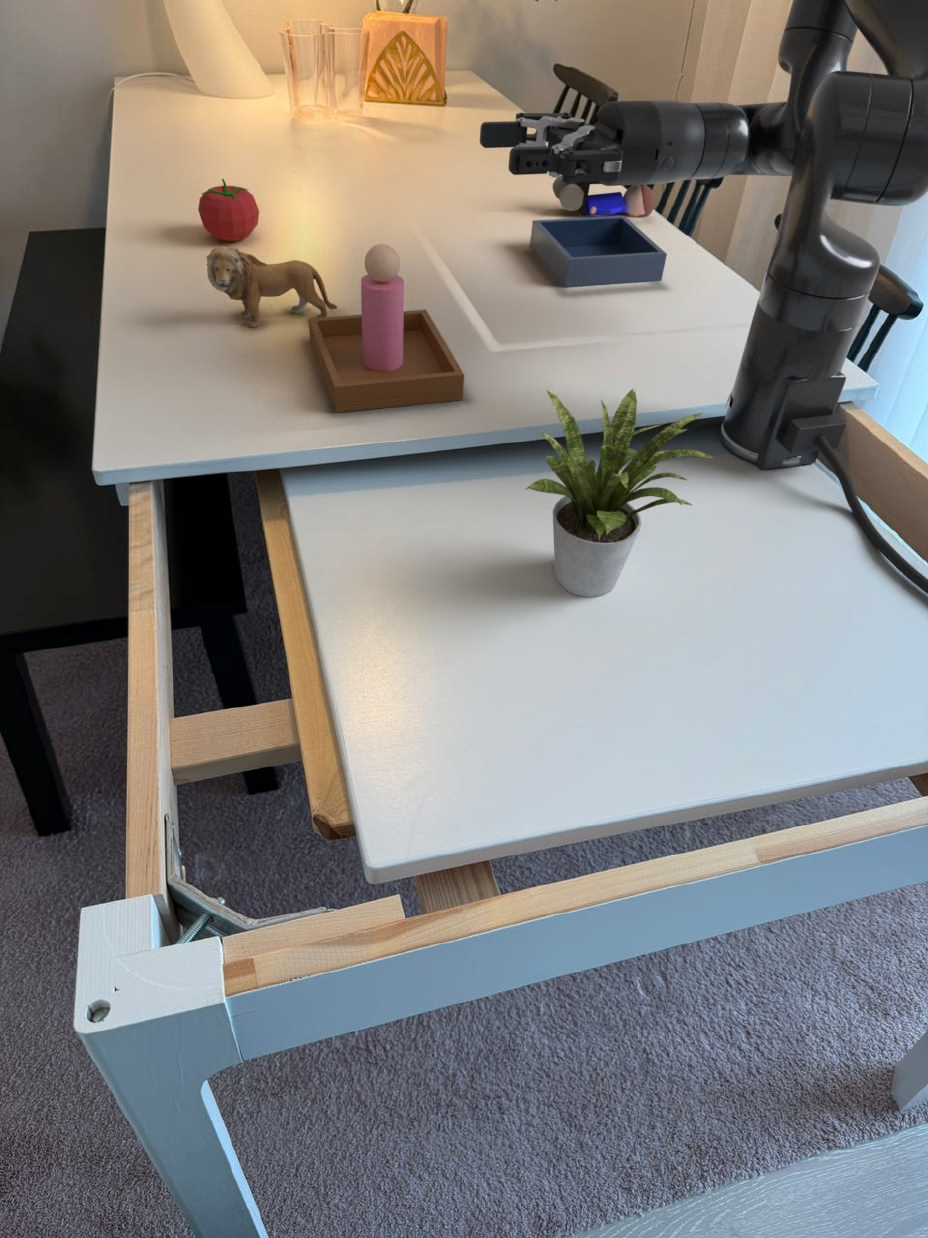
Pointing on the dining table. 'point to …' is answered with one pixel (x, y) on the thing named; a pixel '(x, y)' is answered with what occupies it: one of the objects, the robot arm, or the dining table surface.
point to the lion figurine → (263, 281)
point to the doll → (382, 310)
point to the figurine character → (604, 199)
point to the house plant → (603, 496)
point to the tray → (360, 388)
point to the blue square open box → (597, 251)
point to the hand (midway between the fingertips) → (495, 147)
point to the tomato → (228, 212)
